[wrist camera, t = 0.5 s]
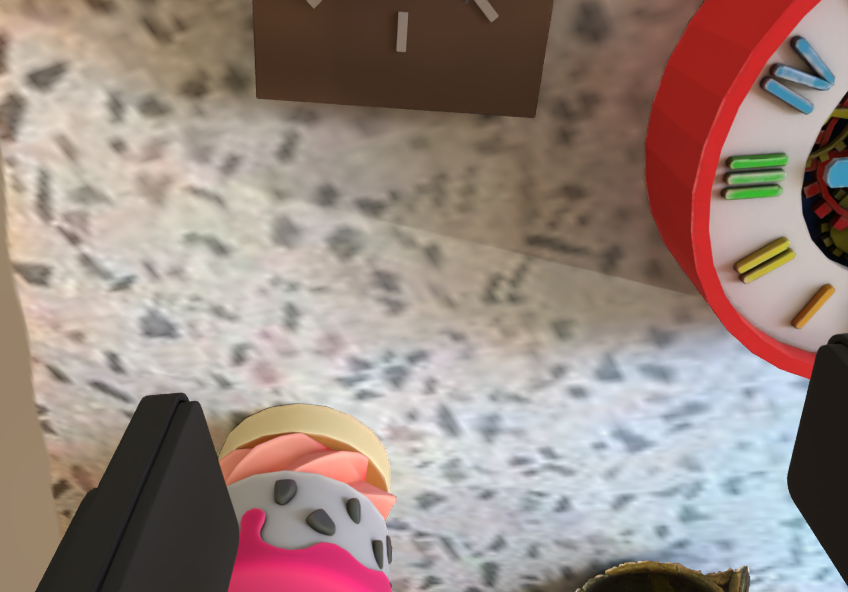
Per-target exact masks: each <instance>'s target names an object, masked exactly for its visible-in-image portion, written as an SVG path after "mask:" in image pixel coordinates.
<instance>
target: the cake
mask: <svg viewBox="0 0 848 592" xmlns="http://www.w3.org/2000/svg"><path fill="white" fill-rule="evenodd" d="M218 460H219V464H220V467H221V470H222V473H223V476H224V479H225V482H226V486H227V489H228V492H229V495H230V498H231V501H232V505H233V508H234V511H235V514H236V517H237V520H238V524H239V536H240V538H239V547H238V551H237V555H236V560H235V564H234V568H233V572H232V576H231V580H230V584H229V589H228V592H392V590H391V588H392V585H391V583H390V582H389V564H390V563H391V561H392V549H393V548H392V545H391V540H390V537H389V535H388V531H387V528H386V524H385V520H386V518H387V516H388V514H389V512H390V510H391V508H392V507H393V505H394V504H395V503H396V496H394V495H392V494H390V465H389V461H388V457H387V453H386V449H385V447H384V446H383V445H382V443H381V442H380V440H379V439H378V438H377V436H376V435H375V434H374V432H373V431H372V430H371V429H369V428H368V427H367V426H365V425H364V424H362V423H361V422H360V421H358V420H357V419H355V418H354V417H353V416H351V415H348V414H345V413H342V412H340V411H337V410H334V409H331V408H329V407H326V406H316V405H306V404H292V405H285V406H278V407H271V408H268V409H266V410H264V411H261V412H259V413H257V414H254V415H252V416H250V417H248V418H246V419H245V420H244V421H243V422H242V423H240V424H239V425H238V426H237V427H236V428H235V429H234V430H233V431H232V432H230V433H229V435H228V437H227V440H226V442H225V444H224V446H223V448H222V450H221V452H220V455H219V458H218Z"/></svg>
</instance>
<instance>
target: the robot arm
mask: <svg viewBox="0 0 848 592" xmlns="http://www.w3.org/2000/svg"><path fill="white" fill-rule="evenodd" d="M787 485H788V489H789V493H790V495H791V498H792V500H793V501H794V503H795V505H796V506H797V508H798V509H799V511H800V512H801V514H802V515H803V517H804V519H805V520H806V522H807V523H808V525H809V526H810V528H811V530H812V531H813V533H814V534H815V536H816V537H817V539H818V540H819V542H820V544H821V545H822V547H823V548H824V550H825V551H826V553H827V555H828V556H829V558H830V559H831V561H832V562H833V564H834V566H835V567H836V569H837V570H838V572H839V573H840V575H841V576H842V578H843V580H844V581H845V583H846V584H847V586H848V333H843V334H836V335H833V336H832V337H831V338H830V339H829V340H828V343H827V345H822V346H820V348H819V349H818V351H817V353H816V357H815V361H814V365H813V370H812V374H811V378H810V382H809V386H808V391H807V395H806V399H805V403H804V407H803V412H802V416H801V420H800V424H799V428H798V433H797V437H796V441H795V445H794V449H793V454H792V458H791V462H790V466H789V470H788V475H787ZM239 538H240V536H239V524H238V520H237V517H236V514H235V511H234V508H233V505H232V501H231V498H230V495H229V492H228V489H227V486H226V482H225V479H224V476H223V473H222V470H221V467H220V464H219V460H218V457H217V454H216V451H215V448H214V445H213V441H212V438H211V435H210V432H209V429H208V426H207V423H206V419H205V416H204V413H203V410H202V407H201V405H200V403H199V402H198V401H189V399H188V397H187V396H186V395H185V394H184V393H171V394H160V395H149V396H145V397H143V398H142V400H141V401H140V403H139V405H138V407H137V409H136V411H135V413H134V415H133V417H132V419H131V421H130V423H129V425H128V427H127V429H126V431H125V433H124V435H123V437H122V439H121V441H120V443H119V445H118V447H117V449H116V451H115V453H114V455H113V457H112V459H111V461H110V463H109V465H108V467H107V469H106V471H105V473H104V475H103V477H102V479H101V481H100V483H99V485H98V487H97V488H94V489H92V490H91V491H89V492H88V493H87V494H86V496H85V497H84V499H83V500H82V502H81V504H80V506H79V508H78V509H77V511H76V513H75V515H74V517H73V519H72V521H71V523H70V525H69V527H68V529H67V531H66V533H65V535H64V537H63V539H62V541H61V543H60V544H59V546H58V548H57V550H56V552H55V554H54V556H53V558H52V560H51V562H50V564H49V566H48V568H47V570H46V572H45V574H44V576H43V578H42V580H41V581H40V583H39V585H38V587H37V589H36V591H35V592H228V589H229V584H230V580H231V576H232V572H233V568H234V564H235V560H236V555H237V551H238V547H239Z"/></svg>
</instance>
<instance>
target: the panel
mask: <svg viewBox="0 0 848 592" xmlns="http://www.w3.org/2000/svg"><path fill="white" fill-rule="evenodd" d="M553 2H554V0H468V2H467V3H464V2H462V1H461V0H252V3H253V28H254V52H255V76H256V97H257V98H258V99H270V100H284V101H299V102H313V103H327V104H341V105H356V106H370V107H384V108H398V109H413V110H427V111H441V112H455V113H470V114H484V115H498V116H512V117H527V118H535V114H536V108H537V102H538V95H539V89H540V83H541V77H542V70H543V64H544V58H545V52H546V45H547V39H548V33H549V27H550V20H551V14H552V8H553Z"/></svg>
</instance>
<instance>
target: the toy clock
mask: <svg viewBox="0 0 848 592" xmlns="http://www.w3.org/2000/svg"><path fill="white" fill-rule="evenodd" d="M645 184H646V190H647V195H648V200H649V206H650V211H651V214H652V217H653V219H654V221H655V224H656V226H657V229H658V231H659V233H660V236H661V238H662V241H663V242H664V244H665V245H666V247H667V248H668V250H669V251H670V252H671V254H672V255H673V257H674V258H675V260H676V261H677V263H678V264H679V265H680V267H681V268H682V269H683V271H684V272H685V274H686V275H687V276H688V278H689V279H690V280H691V282H692V283H693V284H694V286H695V287H696V288H697V290H698V291H699V292H700V294H701V295H702V296H703V298H704V299H705V301H706V302H707V303H708V305H709V306H710V307H711V309H712V310H713V311H714V313H715V314H716V315H717V317H718V318H719V319H720V321H721V322H722V323H723V325H724V326H725V328H726V329H727V330H728V331H729V332H730V333H731V334H732V335H733V336H734V337H735V338H736V339H738V340H739V341H740V342H741V343H742V344H743V345H744V346H745V347H746V348H747V349H748V350H750V351H751V352H752V353H753V354H755V355H757V356H759V357H760V358H762V359H764V360H765V361H767V362H769V363H771V364H772V365H774V366H776V367H777V368H779V369H781V370H784V371H787V372H790V373H793V374H796V375H799V376H802V377H805V378H808V379H810V378H811V374H812V370H813V365H814V361H815V357H816V353H817V351H818V349H819V348H820V346H822V345H827V343H828V340H829V339H830V338H831V337H832V336H833V335H836V334H843V333H848V0H705V1H704V3H703V4H702V5H701V7H700V8H699V9H698V11H697V12H696V13H695V15H694V16H693V17H692V19H691V20H690V21H689V23H688V25H687V27H686V29H685V31H684V32H683V34H682V36H681V38H680V40H679V42H678V43H677V45H676V47H675V49H674V51H673V53H672V54H671V56H670V58H669V60H668V62H667V64H666V67H665V70H664V72H663V75H662V78H661V81H660V83H659V86H658V89H657V92H656V94H655V97H654V100H653V103H652V107H651V113H650V118H649V123H648V129H647V134H646V139H645Z"/></svg>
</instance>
